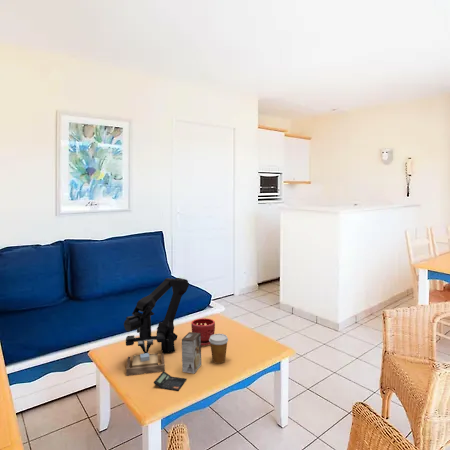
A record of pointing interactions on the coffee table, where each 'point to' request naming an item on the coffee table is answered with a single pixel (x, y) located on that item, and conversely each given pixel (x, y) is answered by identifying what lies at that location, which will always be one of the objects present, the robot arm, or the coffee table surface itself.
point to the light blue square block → (144, 357)
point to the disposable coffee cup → (218, 347)
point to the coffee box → (191, 352)
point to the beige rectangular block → (152, 361)
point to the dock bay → (145, 368)
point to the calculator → (169, 382)
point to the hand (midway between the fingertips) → (146, 355)
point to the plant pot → (204, 329)
